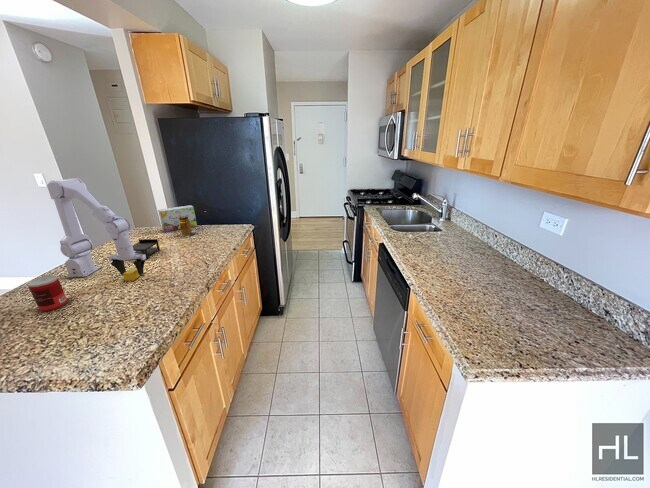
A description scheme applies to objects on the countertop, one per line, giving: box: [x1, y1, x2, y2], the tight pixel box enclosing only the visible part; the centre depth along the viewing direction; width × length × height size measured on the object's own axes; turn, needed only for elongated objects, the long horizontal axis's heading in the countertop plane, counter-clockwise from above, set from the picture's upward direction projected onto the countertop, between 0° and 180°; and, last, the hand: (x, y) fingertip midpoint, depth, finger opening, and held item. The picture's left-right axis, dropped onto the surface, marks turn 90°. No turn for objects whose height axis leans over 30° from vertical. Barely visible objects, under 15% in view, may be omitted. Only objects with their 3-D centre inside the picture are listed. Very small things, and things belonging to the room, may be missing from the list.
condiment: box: [179, 216, 197, 238], centre depth 170 cm, size 7×8×12 cm
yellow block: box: [122, 267, 141, 282], centre depth 117 cm, size 6×4×4 cm, turn 3°
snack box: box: [157, 204, 198, 233], centre depth 181 cm, size 21×6×15 cm, turn 132°
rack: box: [132, 238, 161, 260], centre depth 140 cm, size 12×10×7 cm
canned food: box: [26, 274, 68, 312], centre depth 95 cm, size 8×8×11 cm
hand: (132, 274), depth 117 cm, fingers open, 7 cm apart
